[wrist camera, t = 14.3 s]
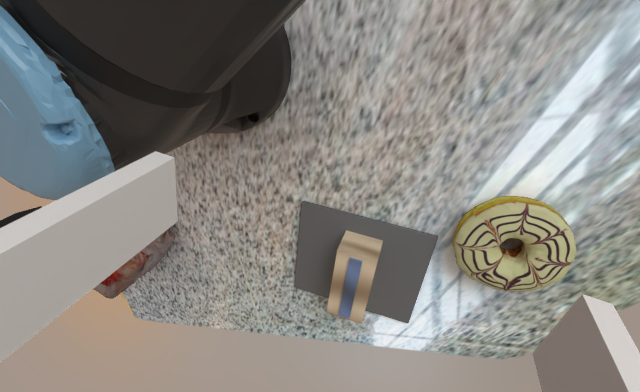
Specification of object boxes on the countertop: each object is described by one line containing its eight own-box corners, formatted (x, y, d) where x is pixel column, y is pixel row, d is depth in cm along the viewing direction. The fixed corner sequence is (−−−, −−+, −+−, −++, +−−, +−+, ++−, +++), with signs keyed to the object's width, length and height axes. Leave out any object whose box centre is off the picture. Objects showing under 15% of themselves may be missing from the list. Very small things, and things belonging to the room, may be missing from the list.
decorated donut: (492, 289, 40) (496, 313, 36) (433, 223, 38) (431, 243, 35) (590, 249, 34) (605, 273, 31) (525, 170, 32) (534, 187, 29)
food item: (145, 195, 50) (86, 232, 42) (187, 232, 51) (137, 275, 43) (117, 242, 57) (62, 281, 49) (154, 273, 58) (106, 317, 50)
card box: (346, 230, 41) (336, 251, 38) (383, 240, 40) (376, 263, 37) (335, 290, 46) (325, 313, 43) (367, 300, 45) (361, 325, 42)
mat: (295, 284, 49) (294, 287, 48) (303, 201, 42) (301, 202, 41) (408, 320, 45) (408, 323, 45) (437, 235, 38) (437, 238, 38)
